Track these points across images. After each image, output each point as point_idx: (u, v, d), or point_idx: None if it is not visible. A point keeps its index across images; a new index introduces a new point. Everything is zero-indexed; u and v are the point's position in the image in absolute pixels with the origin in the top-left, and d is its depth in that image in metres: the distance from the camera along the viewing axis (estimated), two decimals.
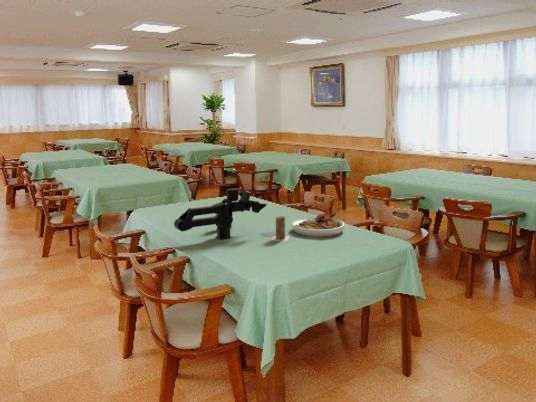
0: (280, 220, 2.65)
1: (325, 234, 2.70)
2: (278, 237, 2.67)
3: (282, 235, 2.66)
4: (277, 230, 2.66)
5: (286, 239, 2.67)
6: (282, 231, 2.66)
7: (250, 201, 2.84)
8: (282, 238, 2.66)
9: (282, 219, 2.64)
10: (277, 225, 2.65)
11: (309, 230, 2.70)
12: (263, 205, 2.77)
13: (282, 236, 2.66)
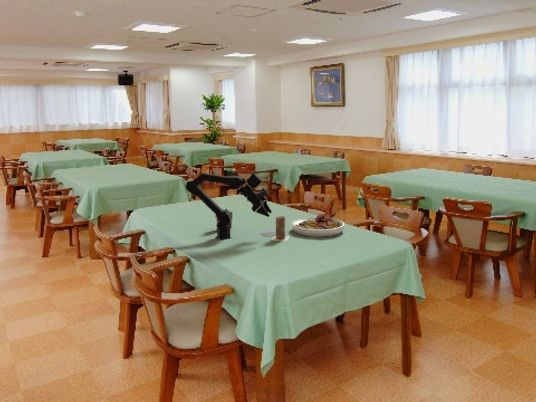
0: (280, 220, 2.65)
1: (325, 234, 2.70)
2: (278, 237, 2.67)
3: (282, 235, 2.66)
4: (277, 230, 2.66)
5: (286, 239, 2.67)
6: (282, 231, 2.66)
7: (266, 204, 2.72)
8: (282, 238, 2.66)
9: (282, 219, 2.64)
10: (277, 225, 2.65)
11: (309, 230, 2.70)
12: (265, 213, 2.62)
13: (282, 236, 2.66)
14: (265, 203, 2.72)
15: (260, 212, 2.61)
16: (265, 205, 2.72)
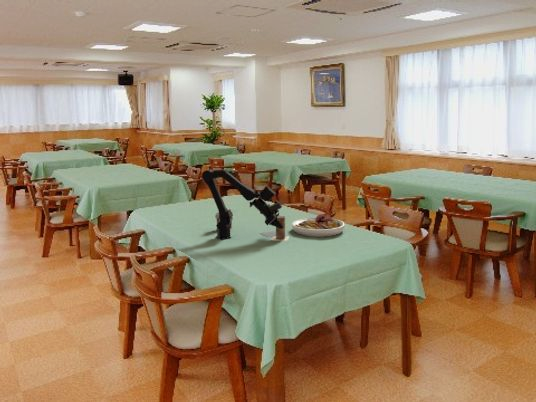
0: (280, 220, 2.65)
1: (325, 234, 2.70)
2: (278, 237, 2.67)
3: (282, 235, 2.66)
4: (277, 230, 2.66)
5: (286, 239, 2.67)
6: (282, 231, 2.66)
7: None
8: (282, 238, 2.66)
9: (282, 219, 2.64)
10: None
11: (309, 230, 2.70)
12: (279, 225, 2.64)
13: (282, 236, 2.66)
14: None
15: (274, 224, 2.64)
16: None
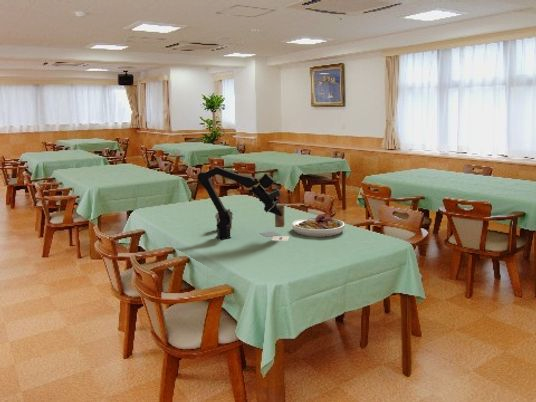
0: (279, 207, 2.64)
1: (325, 234, 2.70)
2: (277, 225, 2.66)
3: (281, 223, 2.65)
4: (276, 218, 2.65)
5: (286, 239, 2.67)
6: (281, 219, 2.65)
7: None
8: (281, 226, 2.66)
9: (281, 206, 2.64)
10: None
11: (309, 230, 2.70)
12: (278, 213, 2.63)
13: (281, 224, 2.65)
14: (276, 204, 2.69)
15: (273, 212, 2.63)
16: None
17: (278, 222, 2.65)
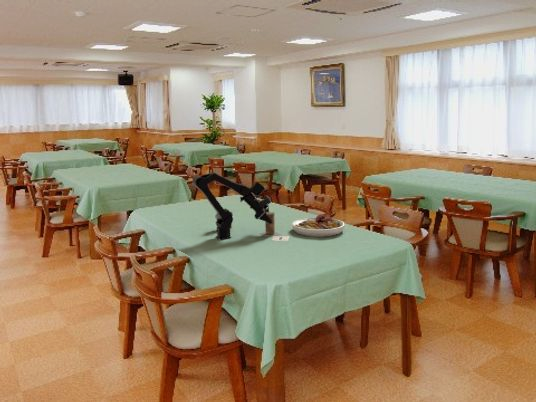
0: (269, 216, 2.74)
1: (325, 234, 2.70)
2: (268, 233, 2.76)
3: (271, 231, 2.75)
4: (267, 226, 2.75)
5: (286, 239, 2.67)
6: (271, 227, 2.75)
7: None
8: (271, 234, 2.76)
9: (271, 215, 2.74)
10: None
11: (309, 230, 2.70)
12: (268, 220, 2.72)
13: (271, 232, 2.75)
14: (267, 211, 2.80)
15: (263, 219, 2.72)
16: None
17: (268, 230, 2.75)
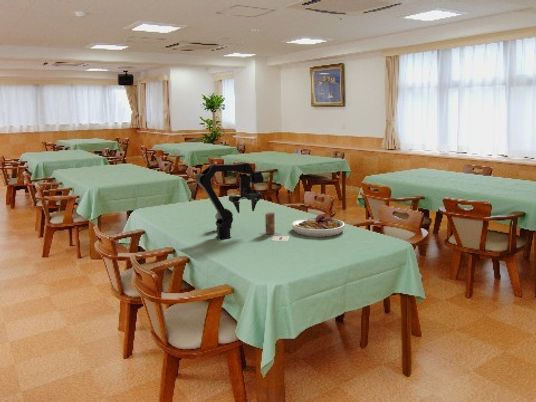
0: (269, 216, 2.74)
1: (325, 234, 2.70)
2: (268, 233, 2.76)
3: (271, 231, 2.75)
4: (267, 226, 2.75)
5: (286, 239, 2.67)
6: (271, 227, 2.75)
7: (254, 202, 2.78)
8: (271, 234, 2.76)
9: (271, 215, 2.74)
10: (267, 221, 2.75)
11: (309, 230, 2.70)
12: (237, 209, 2.74)
13: (271, 232, 2.75)
14: (254, 201, 2.77)
15: (234, 204, 2.74)
16: (253, 202, 2.78)
17: (268, 230, 2.75)
